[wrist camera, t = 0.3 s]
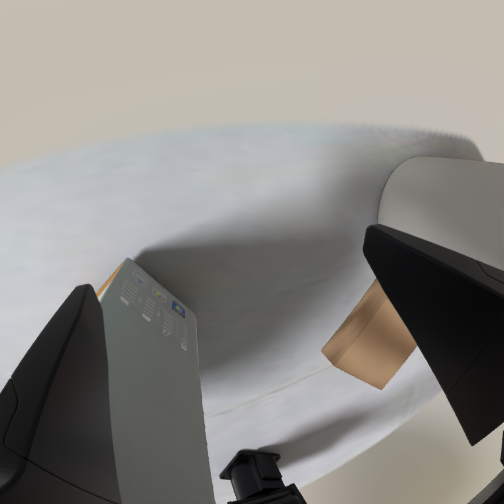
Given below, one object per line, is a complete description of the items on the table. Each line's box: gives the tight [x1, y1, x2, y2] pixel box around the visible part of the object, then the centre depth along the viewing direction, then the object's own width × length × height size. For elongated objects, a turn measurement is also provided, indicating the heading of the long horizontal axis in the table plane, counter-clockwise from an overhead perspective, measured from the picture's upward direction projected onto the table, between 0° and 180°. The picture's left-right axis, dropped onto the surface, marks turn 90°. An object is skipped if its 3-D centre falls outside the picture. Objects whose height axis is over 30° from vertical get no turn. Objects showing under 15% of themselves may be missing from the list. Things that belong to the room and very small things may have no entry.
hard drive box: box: [96, 258, 216, 504], centre depth 15 cm, size 16×8×20 cm, turn 133°
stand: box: [321, 278, 417, 390], centre depth 32 cm, size 10×10×3 cm
